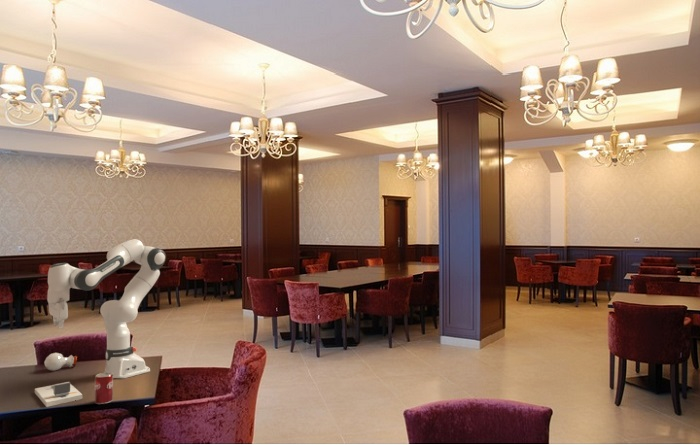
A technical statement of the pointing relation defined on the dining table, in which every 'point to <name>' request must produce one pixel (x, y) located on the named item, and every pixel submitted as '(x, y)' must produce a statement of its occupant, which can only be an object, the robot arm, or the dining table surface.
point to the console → (50, 399)
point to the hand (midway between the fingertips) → (58, 326)
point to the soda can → (103, 388)
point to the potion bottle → (59, 361)
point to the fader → (61, 389)
